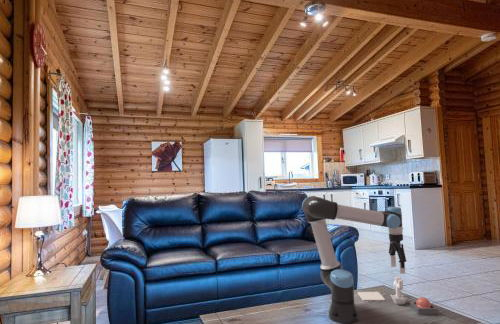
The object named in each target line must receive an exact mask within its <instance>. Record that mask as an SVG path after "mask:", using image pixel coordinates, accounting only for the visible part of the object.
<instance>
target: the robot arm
mask: <svg viewBox="0 0 500 324" xmlns="http://www.w3.org/2000/svg"><path fill="white" fill-rule="evenodd" d="M301 210H302V211H303V213H304V215H305V218H306V221H307V223H309V224H310V226H311V229H312V233H313V236H314V240H315V245H316V248H317V252H318V254H319V260H320V262H321V264H320V267H319V268H320V279H321V280H322V283H323V284H324V285H326V286H327V287H328V288H329V290H330V293H331V294H330V296H331V303H330V306H329V310H328V317H329V319H330V320H332V321H334V322H337V323H340V324H354V323H355V322H356V323H357V322H358V320H359V313H358V309H357V307H356V304H355V289H354V288H355V287H354V284H355V283H354V282H355V280H354V275H353V274H352V272H350V271H349V270H345V269H342V265H341V262H340V261H338V260H337V257H336V253H335V249H334V246H333V244H332V240H331V236H330V232H329V229H328V225H327V224H328V223H327V221H326V220H332V221H335V220H336V219H338V220H342V221H343V220H344V221H348V222H349V221H350V222H354V223H355V222H356V223H362V224H366V225H374V226H378V227H383V228H384V227H385V228H388V239H389V240H388V241H389V246H388V247H389V248H388V254H389V256H390V267H391V268H395V267H397V261H396V260H397V259H396V255H397V257H398V259H399V261H398V267H399V275H401V274H402V275H404V274H405V275H406V265H405V264H406V262H407V258H406V253H405V250H404V249H405V248H404V244H403V243H401V242H402V241H403V240H404V234H403V230H404V227H403V217H402V216H403V214H402V208H401V207H400V206H388V207H387V209H386V210H382V211H381V210H379V211H378V210H371V209H366V208H361V207H359V208H358V207H354V206H349V205H345V204H344V205H342V204H338V202H336V201H331V200H328V199H325V198H322V197H319V196H316V195H311V196H308V197H305V198H304V199H303V201H302V204H301ZM396 253H397V254H396Z"/></svg>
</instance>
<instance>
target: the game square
mask: <svg viewBox="0 0 500 324" xmlns="http://www.w3.org/2000/svg"><path fill="white" fill-rule="evenodd" d="M357 294H358V296H359V297H360V299H361V300H362V301H363V302H365V301H367V302H368V301H369V302H371V301H372V302H374V301H375V302H380V301H382V302H385V301H386V298H385V297H384V296H383V295H382V294H381V293H380V292H379V291H357Z"/></svg>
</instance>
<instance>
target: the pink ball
mask: <svg viewBox="0 0 500 324" xmlns="http://www.w3.org/2000/svg"><path fill="white" fill-rule="evenodd" d="M415 302H416V306H417V307H419V308H431V304H432V303H431V302H430V300H429V299H428V298H427V297H423V296H422V297H419V298H417V300H416V301H415ZM430 303H431V304H430Z"/></svg>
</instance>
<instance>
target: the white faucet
mask: <svg viewBox="0 0 500 324" xmlns="http://www.w3.org/2000/svg"><path fill="white" fill-rule="evenodd" d="M403 289H404V281H403V280H402V279H401V276H395V277H394V281H393V290H395V294H392V293H391V294H390V298H391V299H392V301H393V302H394V303H395V304H396V305H405V304H406V303H407V301H408V297H406V296H405V295H404V294H403V293H402V290H403Z"/></svg>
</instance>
